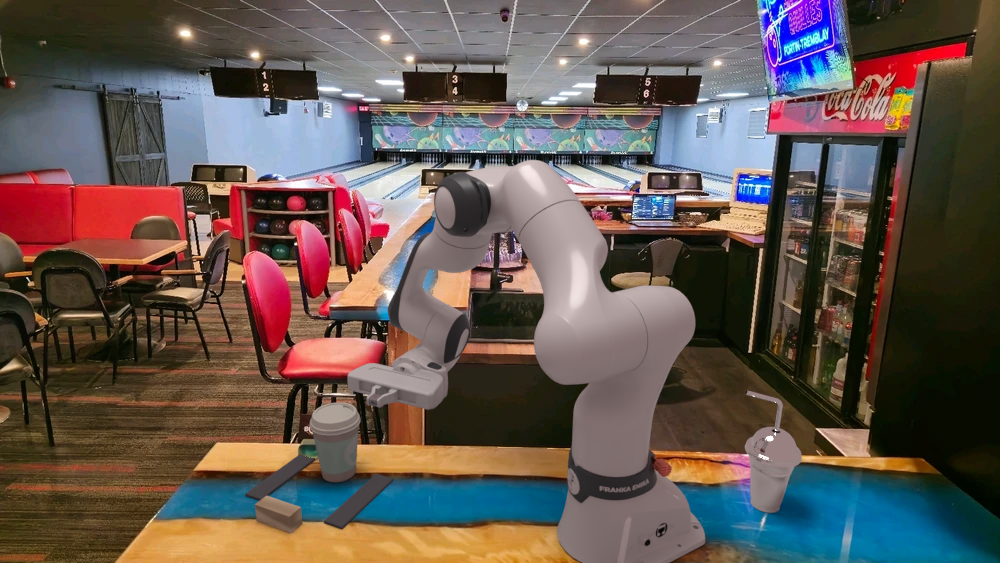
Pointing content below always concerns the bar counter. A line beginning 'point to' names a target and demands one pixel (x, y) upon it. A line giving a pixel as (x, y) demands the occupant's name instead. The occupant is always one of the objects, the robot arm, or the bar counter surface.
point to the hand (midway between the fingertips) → (372, 402)
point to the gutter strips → (338, 516)
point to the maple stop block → (278, 514)
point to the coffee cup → (336, 440)
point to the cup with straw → (770, 462)
